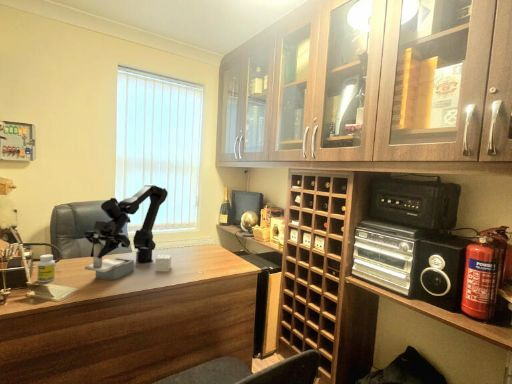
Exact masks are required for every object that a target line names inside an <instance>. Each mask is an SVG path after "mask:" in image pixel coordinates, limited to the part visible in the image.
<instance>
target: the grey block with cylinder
mask: <svg viewBox="0 0 512 384" xmlns="http://www.w3.org/2000/svg"><path fill="white" fill-rule="evenodd" d="M103 245H104V244H103V243H102V244H94V256H93V257H92V258H93V263H91V264H89V265H86V266H84V270H87V271H95V272H96V271H99V272H106V271H109V270H111V269H113V268H115V267H118V266H120V265H122V264H125V262H126V261H122V260H115V258H108V257H107V258H105V259H103V257H102V258H98V256H99V253H100V252H101V250H102V249H103V247H104V246H103Z"/></svg>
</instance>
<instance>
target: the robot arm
mask: <svg viewBox="0 0 512 384" xmlns="http://www.w3.org/2000/svg"><path fill="white" fill-rule="evenodd" d="M168 193H169V192H168V190H167V189H166V188H165V187H164V188H163V187H160V186H157V185H155V184H145V185H144V187H142V188H141V189H140V190H139V191H137V192H136V193H135V194H133V196H131V197H128V198H124V199H123V200H120V201H119V202H118V199H116V197H111V198H110V199H108V200H105V201H104V202H102V204H101V205H100V208H101V210H102V212H103V213H104V214H105V215H106V217H108V218H109V219H110V220H109V221H106V222H105V221H100V220H95V223H94V225H93V227H92V230H85V231H84V233H83V234H82V236H83V238H85V239H86V240H87V241H88V242H89V243H91V244H92V248H91V252H90V257H91V258H93V256H94V244H103V242H105V243H104V244H103V247H102V250H101V252H100V253H99V256H98V258H102V259H103V257H105V256H106V255H107V254H109V253H111V252H113V251H115V250H116V249H119V247H120V246H121V248H123V249H124V248H127V249H128V248H129V247H130V245H131V240H130V239H129V238H128V237H127V235H125V234H123V232H124V231H123V228H124V227H125V225H126V223H128V224H130V223H131V218H130V216H128V215H135V214H136V213H137V212H138V210H139V209H140V205H141V204H142V203H143V202H145V201H146V199H147V198H149V201H150V203H149V205H148V209H147V211H146V215H145V218H144V221H143V222H142V225H141V228H140V229H136V231H135V233H134V236H133V241H132V242H133V246H134V249H135V250H137V251H136V253H135V255H136V256H135V260H136V262H138V263H139V264H143V263H152V262H153V261H154V259H153V251H154V250H155V249H156V246H157V245H156V243H155V241H154V235H153V228H154V225H155V223H156V219H157V215H158V214H159V210H160V207H161V205H162V204H163V203H164V202H165V201H166V199H167V197H168ZM97 231H98V232H97ZM98 233H99V234H98ZM119 245H120V246H119Z"/></svg>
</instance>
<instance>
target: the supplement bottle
mask: <svg viewBox="0 0 512 384" xmlns="http://www.w3.org/2000/svg"><path fill="white" fill-rule="evenodd" d="M53 258H54V255H53V254H51V253H50V254H43V255H40V257H39V260H40V261H39V262H38V263H37V277H36V278H37V282H38V283H47V282H52V281H53V280H54V279H55V273H56V269H55V268H56V266H55V265H56V262H55V260H54V259H53Z"/></svg>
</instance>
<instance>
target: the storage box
mask: <svg viewBox="0 0 512 384" xmlns="http://www.w3.org/2000/svg"><path fill="white" fill-rule="evenodd" d="M114 259H115V260H122V261H126V262H125V264H122V265H120V266H118V267H115V268H113V269H111V270H109V271H106V272H99V271H95V278H97V279H102V280H107V281H117V280H119V279H120V278H123V277H124V276H126V275H129V274H130V273H132V272H134V269H135V268H134V267H135V260H134V259H126V258H120V257H115V258H114Z"/></svg>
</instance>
